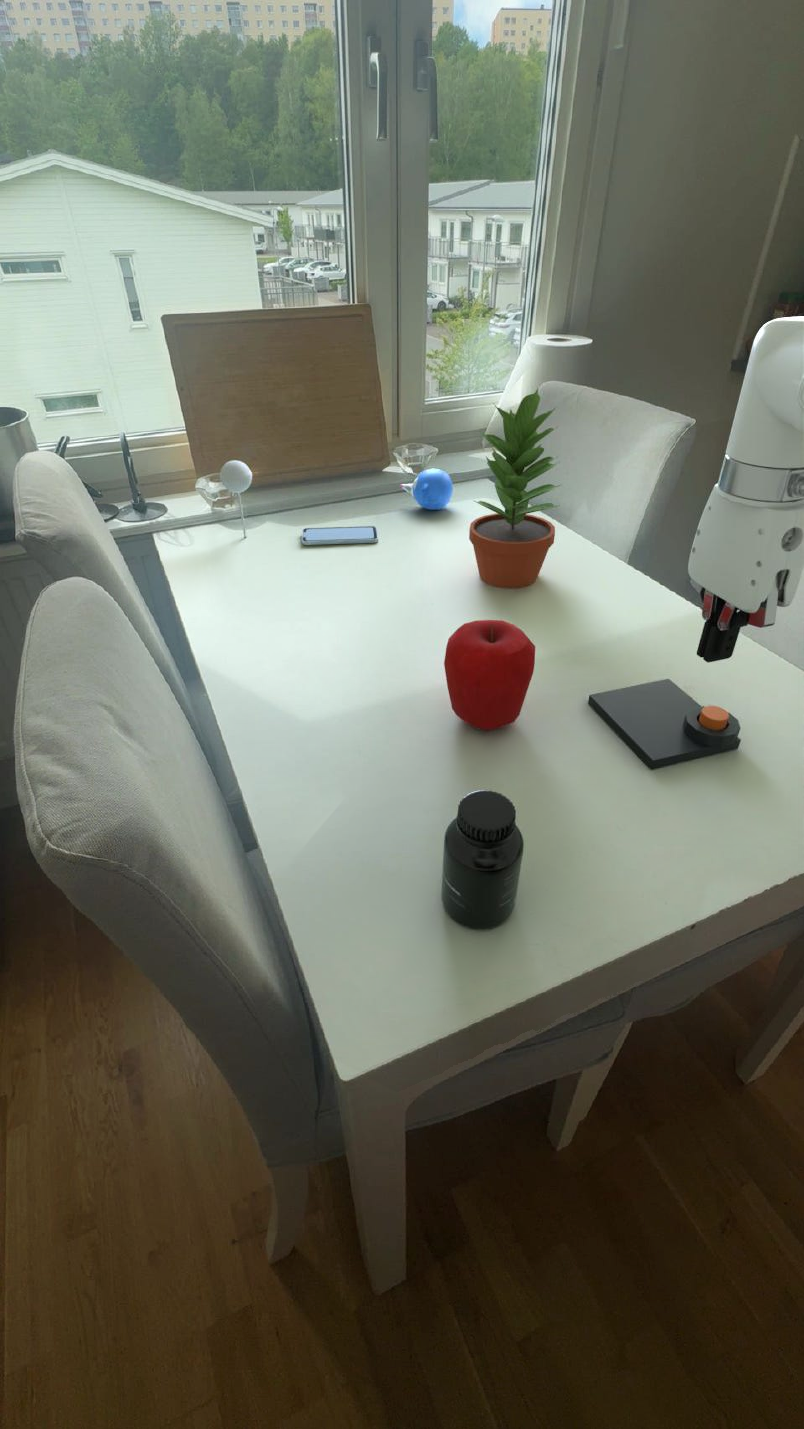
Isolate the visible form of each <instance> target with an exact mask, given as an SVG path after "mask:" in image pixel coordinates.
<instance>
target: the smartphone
mask: <svg viewBox="0 0 804 1429" xmlns="http://www.w3.org/2000/svg"><path fill="white" fill-rule="evenodd" d="M378 541H379V535H378V528H377V526H375V525H364V526H363V525H361V526H330V527H329V526H326V527H325V526H324V527H305V528H303V529H302V532H301V544H302V545H304V546H305V545H306V546H307V545H309V546H312V545H313V546H314V545H315V546H316V545H343V544H344V545H345V544H347V545H348V544H373V543H378Z"/></svg>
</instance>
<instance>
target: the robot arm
mask: <svg viewBox="0 0 804 1429" xmlns="http://www.w3.org/2000/svg"><path fill="white" fill-rule="evenodd" d="M746 365H747V366H746V370H745V374H744V377H743V381H742V382H743V383H742V386H741V390H740V393H739V396H738V400H737V401H738V402H737V405H736V410H735V414H734V417H733V422H732V426H731V430H730V434H729V437H728V441H727V445H726V449H725V453H724V458H723V462H722V464H721V468H720V473H719V477H718V481H717V483H716V484H714V486H713V487H712V491H711V493H710V495H709V496H708V499H707V502H706V504H705V506H704V508H703V511H702V514H701V516H700V520H699V523H698V525H697V528H696V531H695V535H694V538H693V543H692V546H691V550H690V554H689V559H688V565H687V573H688V575H689V577H690V579H689V583H690V585H691V587H692V588H694V590H695V591H696V592H697V593H698V594H699V595H700V599H701V602H702V609H701V617H702V619H703V620H704V624H703V627H702V632H701V635H700V640H699V643H698V646H697V649H696V655H697V656H698V657H699V658H702V659H703V661H705V663H714V662H718V661H722V660H723V661H724V660H728V659H730V658H731V657H732V656H733V653H734V651H735V647H736V644H737V641H738V638H739V636H740V635H739V634H740V631H741V628H744V627H747V626H748V625H749V626H753V627H755V628H756V627H757V628H761V629H762V628H767V627H772V626H774V625H775V623H776V619H777V618H776V616H777V609H778V607H780V608H786V607H789V606H790V605H791V604H792V603H793V600H794V599H795V596H796V594H797V590H798V587H799V584H800V580H801V578H802V573H803V570H804V316H790V317H789V316H787V317H778V318H775V319H772V320H770V321H768V322H766V323H765V324H763V325H762V327H761V328H759V330H758V332H757V333H756V335H755V337H754V339H753V342H752V346H751V349H750V354H749V357H748V360H747V364H746Z"/></svg>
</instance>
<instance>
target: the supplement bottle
mask: <svg viewBox="0 0 804 1429" xmlns="http://www.w3.org/2000/svg"><path fill="white" fill-rule="evenodd" d="M516 813H517V810H516V807H515V805H514V802H512V800H511V799H510V798H508V797H507V796H506V795H503V794H502V793H500V792H498V791H494V790H488V789H483V790H481V789H480V790H474V791H473V792H469V793H468V794H465V796H463V797H462V799H461V800H460V801H459V804H458V806H457V815H456V817H455V818H454V819H453V820H452V821H451V822H450V823H449V824H448V826H447V828H446V830H445V832H444V837H443V838H444V839H443V851H442V852H443V853H442V854H443V856H442V875H441V903H442V907H443V908H444V911H445V912H446V913H447V915H448V916H449V917H450V918H451V919H452V920H453V921H454V922H456V923H457V924H459V925H461V926H462V927H465V928H468V929H471V930H477V931H479V930H480V931H484V930H491V929H494V928H497V927H499V926H501V925H502V924H504V923H505V922H506V921H508V919H509V918H510V917H511V915H512V914H513V912H514V910H515V906H516V901H517V893H518V889H519V888H518V887H519V882H520V874H521V868H522V862H523V855H524V848H525V846H524V837H523V834H522V832H521V830H520V829H519V827H518V826H517V823H516V822H517V821H516V817H517V814H516Z"/></svg>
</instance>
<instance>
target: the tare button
mask: <svg viewBox="0 0 804 1429" xmlns="http://www.w3.org/2000/svg"><path fill="white" fill-rule="evenodd" d="M728 718H729V714H728V711H727V710H726V709H724V708H722V707H721V706H717V705H706V706H705V707H704V708H703V709H702V711H701V714H700V718H699V723H700V724H701V725H702V726H703V727H706V728H708V729H711V730H723V729H724V728H725V727H726V724H727V721H728Z"/></svg>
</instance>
